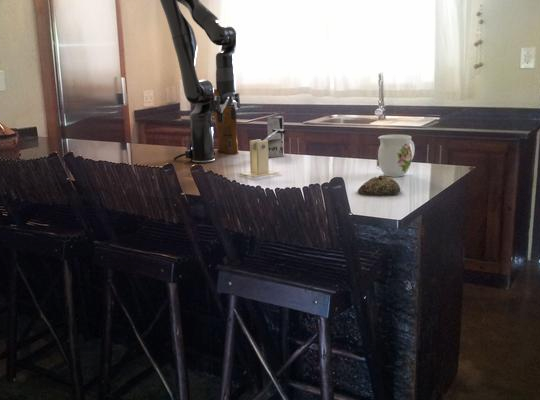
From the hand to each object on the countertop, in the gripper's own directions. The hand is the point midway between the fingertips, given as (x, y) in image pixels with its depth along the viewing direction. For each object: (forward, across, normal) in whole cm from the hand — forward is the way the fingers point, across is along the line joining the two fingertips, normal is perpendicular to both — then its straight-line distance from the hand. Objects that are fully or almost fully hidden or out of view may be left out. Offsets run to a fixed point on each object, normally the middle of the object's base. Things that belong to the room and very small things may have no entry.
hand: (227, 121), depth 252 cm
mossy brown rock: (+17, +17, +72) cm, 76 cm away
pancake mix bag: (+17, -22, -18) cm, 33 cm away
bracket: (+17, +14, +25) cm, 33 cm away
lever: (+5, +10, +26) cm, 28 cm away
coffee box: (+17, -24, +7) cm, 30 cm away
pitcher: (+17, -9, +66) cm, 69 cm away
